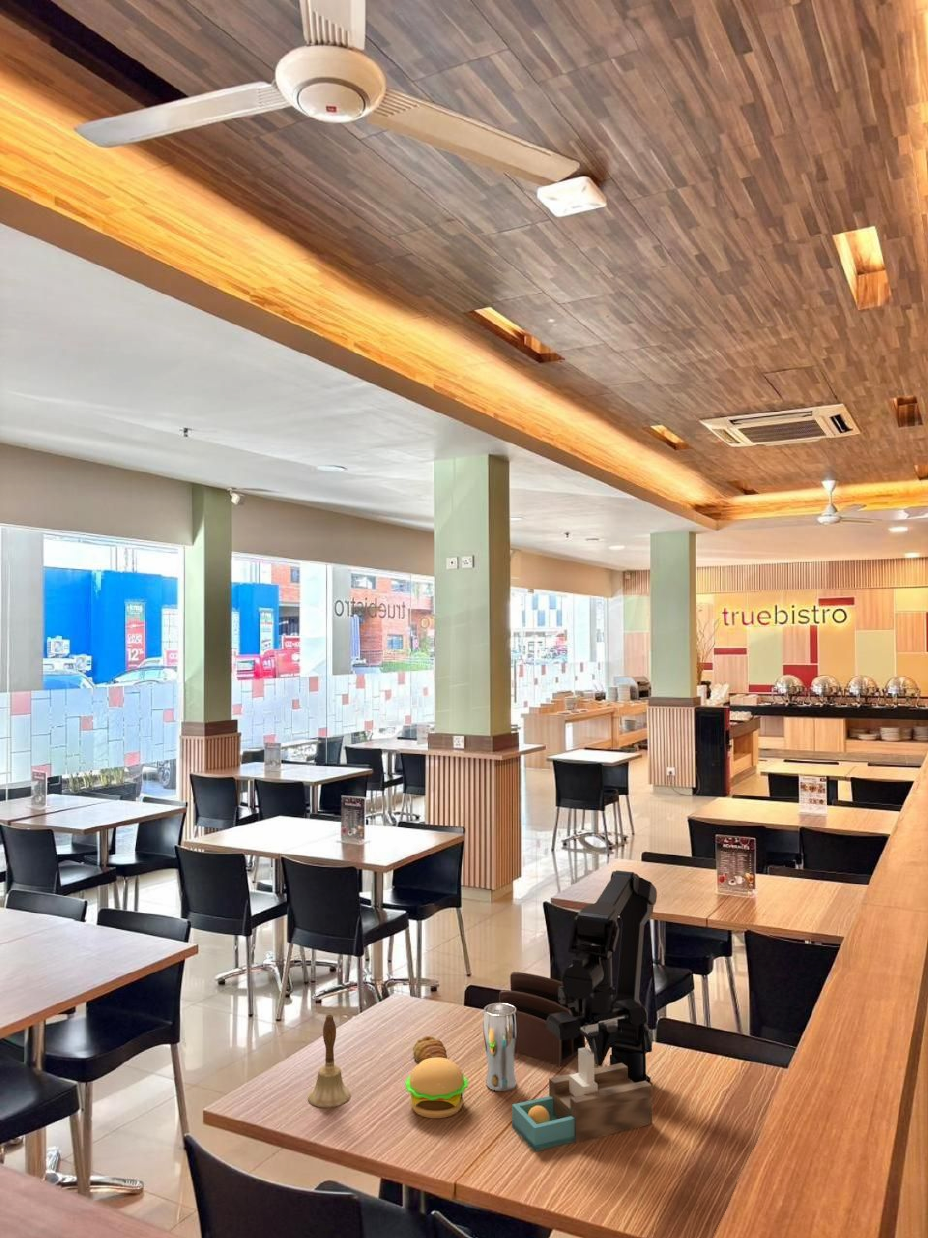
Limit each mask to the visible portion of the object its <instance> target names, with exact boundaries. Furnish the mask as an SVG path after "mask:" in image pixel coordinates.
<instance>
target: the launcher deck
mask: <svg viewBox="0 0 928 1238" xmlns="http://www.w3.org/2000/svg"><path fill="white" fill-rule="evenodd" d="M576 1073H579V1071H578V1072H573V1073H568V1074H563V1075H558V1076H555V1077H554V1076H553V1077H550V1078H549V1079H548V1092H549V1093H548V1096H551V1097H552V1098H553V1115H554V1116H555V1117H556V1118H557V1119H561V1118H565V1117H570V1116H572V1117H573V1118H574V1119H575V1143H576V1144H578V1143H581V1142H585V1141H589V1140H594V1139H598V1138H602V1137H605V1136H608V1135H614V1134H617V1133H622V1132H626V1131H630V1130H633V1129H637V1128H641V1127H645V1126H649V1125H653V1098H652V1097H653V1094H652V1093H653V1090H652V1087H653V1086H652V1084H651V1083H649V1081H648V1082H647V1081H641V1082H637V1083H634V1082H633V1081H632V1080H630V1079H629V1078H628V1067H627V1066H626V1065H624V1064H623V1063H618V1064H613V1065H610V1064H609V1065H605V1066H599V1067H594V1081H595V1082H596V1083H597V1084H598V1091H597V1092H593V1093H588V1094H584V1095H580V1096H574V1095H573V1094H572V1093H571V1092H569V1075H571V1074H576Z"/></svg>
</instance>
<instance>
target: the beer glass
mask: <svg viewBox="0 0 928 1238" xmlns="http://www.w3.org/2000/svg"><path fill="white" fill-rule="evenodd" d="M483 1010H484V1012H483V1024H482V1026H483V1027H482V1028H483V1030H482V1032H483V1044H484V1051H485V1055H486V1059H487V1075H486V1080H485V1084H487V1086H488V1087H489V1088H490V1089H489V1088H488V1087H487V1086H486V1087H487V1088H488V1089H489V1090H491V1089H492V1091H494V1090H495V1091H494V1092H500V1091H503V1092H508V1091H512V1090H513V1089H515V1088H516V1086H517V1080H516V1074H515V1058H516V1053H517V1052H516V1047H517V1038H518V1024H517V1013H516V1007H515V1006H513V1005H511V1004H507V1003H499V1002H494V1003H490V1004H487V1005H486V1006H484V1008H483Z"/></svg>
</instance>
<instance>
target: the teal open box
mask: <svg viewBox="0 0 928 1238" xmlns="http://www.w3.org/2000/svg"><path fill="white" fill-rule="evenodd" d="M534 1106H542V1107H544V1108H545V1109H546V1110H547V1111H548V1113H549V1116H550V1121H549V1122H544V1123H540V1124H536V1123H535V1122H534V1121H533V1120H532V1119H531V1118H530V1117H529V1116H528V1113H529V1111H530V1109H531V1108H532V1107H534ZM511 1128H513V1129H514V1131H515V1132H517V1134H518V1135H519V1136H520V1137H521V1138H522V1140H524V1141H525V1142H526V1144H527V1145H528V1146H529V1147H530V1148H531V1149H532V1150H533V1151H534V1152H539V1151H542V1150H547V1149H549V1148H554V1147H558V1146H563V1145H566V1144H571V1143H574V1142H575V1119H574V1118H573V1117H572V1116H570V1117H565V1118H561V1119H557V1118H556V1117H555V1116H554V1115H553V1098H552V1097H551V1096H549V1095H548V1096H544V1097H540V1098H534V1099H531V1100H527V1101H522V1102H518V1103H513V1104H511ZM575 1143H576V1142H575Z"/></svg>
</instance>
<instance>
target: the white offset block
mask: <svg viewBox="0 0 928 1238" xmlns="http://www.w3.org/2000/svg"><path fill="white" fill-rule="evenodd" d="M577 1057H578V1059H577V1061H578V1065H577V1066H578V1072H579V1073H576V1072H575V1073H576V1074H572V1073H570V1074H571V1075H569V1092H571V1093H572V1094H573V1095H574V1096H580V1095H584V1094H588V1093H593V1092H597V1091H598V1084H597V1083H596V1082H595V1081H594V1069H595V1061H594V1053H592V1052H591V1050H590V1048H589V1049H588V1047H586V1046H585V1047H584V1048H579V1049H578V1056H577Z"/></svg>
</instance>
